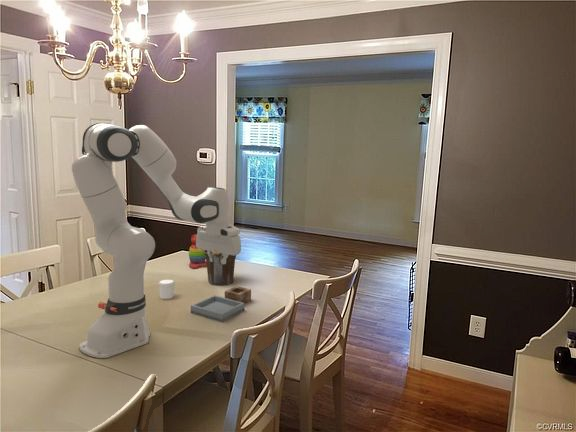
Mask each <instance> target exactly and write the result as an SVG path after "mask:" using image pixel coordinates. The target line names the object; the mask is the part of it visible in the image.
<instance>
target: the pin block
mask: <svg viewBox="0 0 576 432" xmlns="http://www.w3.org/2000/svg"><path fill="white" fill-rule="evenodd" d="M224 298H227V299H231V300H235V301H238V302H242V303H245V304H247V303H249V302H251V301H252V289H251V288H247V287H242V286H237V285H236V286H233V287H231V288H228V289H227V290H225V291H224Z"/></svg>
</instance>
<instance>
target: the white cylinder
mask: <svg viewBox="0 0 576 432" xmlns="http://www.w3.org/2000/svg"><path fill="white" fill-rule="evenodd" d="M157 283H158V289H159V290H158V291H159V297H160V300H161V299H162V300H170V299H172V298H174V297H175V296H174V295H175V280H174V279H171V278H170V279H168V278H167V279H160V280H159V281H158V282H157Z"/></svg>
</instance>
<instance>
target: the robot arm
mask: <svg viewBox="0 0 576 432" xmlns="http://www.w3.org/2000/svg"><path fill="white" fill-rule="evenodd" d="M81 153H82V155H81V156H78V157H77V158H76V159H75V160H74V161H73V162H72V164H71V173H72V176H73V179H74V182H75V185H76V188H77V190H78V192H79V194H80V197H81V198H82V200H83V203H84V204H85V207H86V208H87V210H88V213H89V215H90V216H91V219H92V223H93V226H94V229H95V234H94V235H95V237H94V239H95V243H96V245H97V246H98V247H99V249H100V250H102V252H104V253H106V254H107V255H108V254H109V255H111V256H113V258H114V264H113V267H112V268H113V269H112V271H111V272H110V273H109V274H108V277H107V281H108V298H107V302H106V303H105V302H103V301H100V302H99V303H98V304H97V307H98V309H101V310H104V311H103V313H102V314H101V315H99V317H98V318H97V319H96V320H95V321H94V322H93V323H92V324H91V326H90V327H89V328H88V330H87V334H86V340H84V341H83V342H80V343H79V350H80V352H82V353H83V354H85V355H86V356H90V357H93V358H97V359H107V358H110V357H113V356H116V355H119V354H121V353H124V352H127V351H129V350H132V349H135V348H138V347H140V346H144V345H147V344H148V343H149V342H150V340H149V337H150V335H151V331H150V327H149V324H148V322H147V321H148V320H147V316H146V305H147V303H146V294H145V287H144V286H145V285H144V284H145V280H144V279H145V278H144V276H145V269H146V265H147V261H148V260H149V259H150V258H151V257H152V255H153V254H154V252H155V250H156V241H155V239H154V237H153V236H152V235H151V234H150V233H149V232H147V231H146V230H144V229H143V228H140V227H136V226H132V225H131V224H130V223H129V222H128V219H127V214H126V210H127V202H126V200H125V197H124V195H123V193H122V190H121V188H120V186H119V183H118V181H117V179H116V177H115V176H114V174H113V167H112V166H113V162H114V163H117V162H118V163H119V162H123V161H126V160H128V159H129V158H132V159H133V160H134V162H136V163H137V165H139V167H140V168H141V169H142V170H143V171H144V172H145V173H146V175H147V176H148V177H149V178H150V179H151V180H152V182H153V184H154V185H155V186H156V187H157V189H158V190H159V192H160V193H161V194H162V195H163V196H164V198H165V199H166V201H167V202H168V205H169V207H170V211H171V213H172V214H173V215H172V216H174V218H175V219H178V220H180V221H187V222H191V223H196V224H205V226H203V225H200V226H199V227H197V228H196V229H197V230H196V231H197V238H196V247H197V248H198V249H202V250H207V254H208V256H209V257H210V262H214V256H213V254H212V251H217V252H218V253H222V256H224V257H223V259H221V260H220V261H221V262H220V263H221V264H226V259H227V257H228V256H229V255H233V256H235V255H236V256H238V255H239V254H240V253H241V252H242V243H241V236H240V235H239V234H241V232H240V231H241V230H240V228H238V227H236V226H235V225H233V224H231V223H230V218H229V212H230V199H229V193H228V191H227V189H225V188H223V187H218V186H208V187H207V188H206V190H205V191H203V192H202V193H201V194H199V195H196V196H194V195H190V194H187V193H186V192H183V190H181V188H180V187H179V186H178V184H177V182H176V181H175V179H174V178H173V176H172V175H173V174H174V172H175V171H176V168H177V159H176V157H175V155H174V154H173V152H172V150H171V149H170V148H169V147H168V146H167V144H166V143H165V142H164V141H163V139H161V138H160V136H159V135H157V134H156V132H155V131H153V130H152V129H151V128H150V127H149V126H147V125H145V124H139V125H134V126H131V128H129V129H127V128H125V127H123V126H120V125H114V124H112V123H107V122H106V123H105V122H104V123H101V122H100V123H98V122H97V123H94V124H92V125H89V126H88V127H87V128H86V129H85V130H84V132H83V135H82V146H81Z"/></svg>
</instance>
